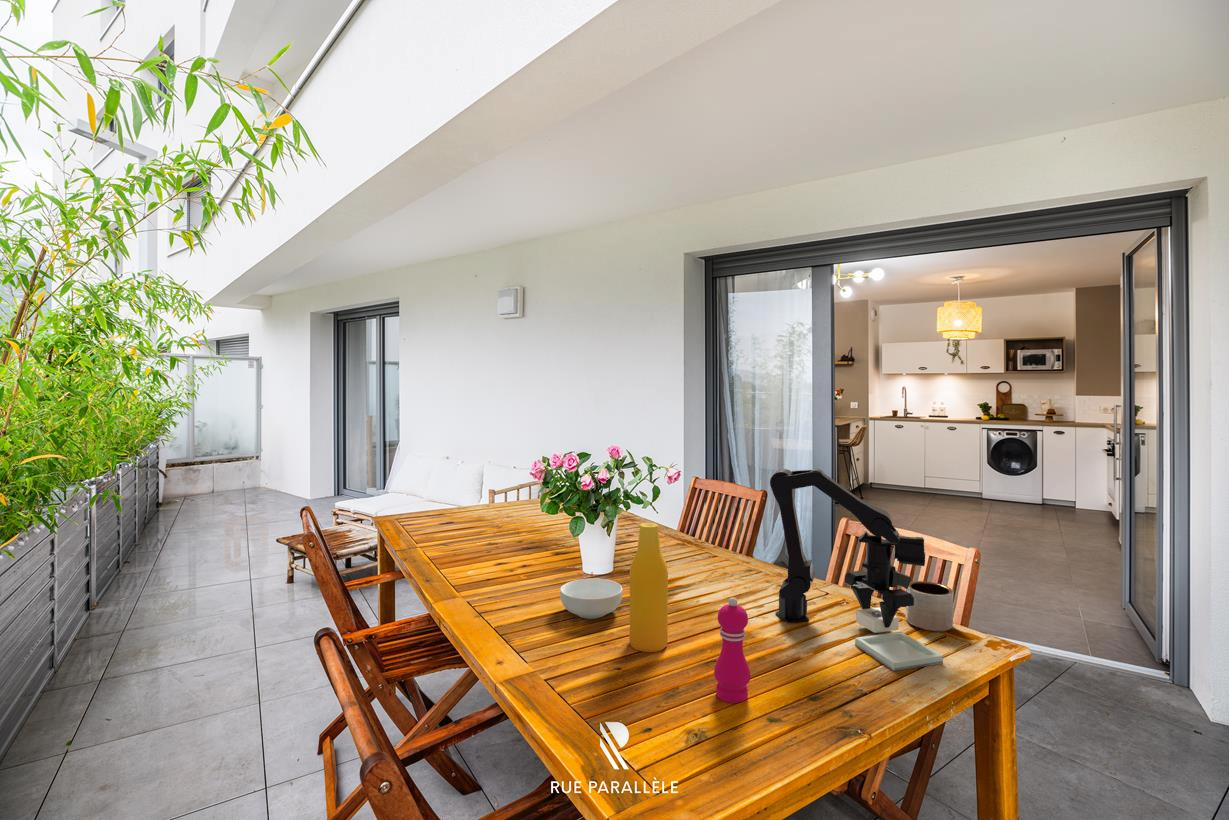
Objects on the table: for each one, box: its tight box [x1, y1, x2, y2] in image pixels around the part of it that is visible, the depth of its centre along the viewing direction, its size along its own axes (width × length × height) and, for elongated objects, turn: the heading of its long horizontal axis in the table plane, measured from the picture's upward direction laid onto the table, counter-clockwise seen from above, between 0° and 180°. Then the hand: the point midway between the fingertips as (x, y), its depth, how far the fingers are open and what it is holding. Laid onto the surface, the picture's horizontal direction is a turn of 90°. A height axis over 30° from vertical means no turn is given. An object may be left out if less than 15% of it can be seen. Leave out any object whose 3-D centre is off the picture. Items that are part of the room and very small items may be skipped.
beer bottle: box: [628, 522, 669, 653], centre depth 141 cm, size 9×9×29 cm
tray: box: [854, 631, 944, 672], centre depth 137 cm, size 13×13×2 cm
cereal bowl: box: [559, 577, 623, 620], centre depth 161 cm, size 17×17×7 cm
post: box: [872, 612, 882, 634], centre depth 149 cm, size 2×2×4 cm
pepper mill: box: [713, 596, 751, 704], centre depth 119 cm, size 7×7×20 cm
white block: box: [855, 606, 900, 634], centre depth 149 cm, size 7×7×3 cm
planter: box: [905, 580, 954, 633], centre depth 153 cm, size 11×11×10 cm
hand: (876, 621), depth 149 cm, fingers closed on white block, 7 cm apart
